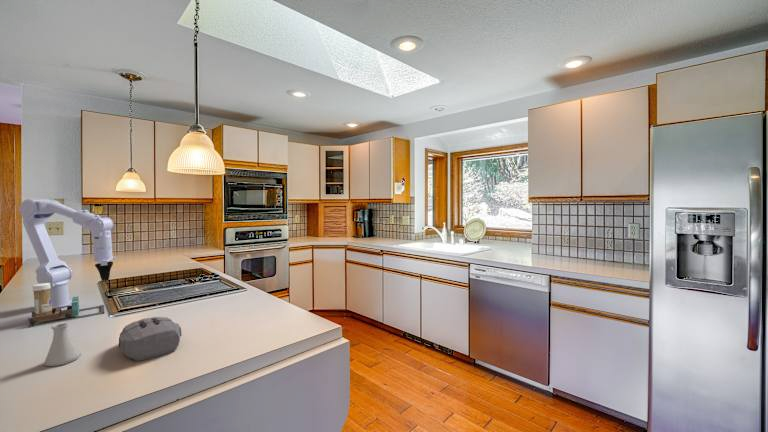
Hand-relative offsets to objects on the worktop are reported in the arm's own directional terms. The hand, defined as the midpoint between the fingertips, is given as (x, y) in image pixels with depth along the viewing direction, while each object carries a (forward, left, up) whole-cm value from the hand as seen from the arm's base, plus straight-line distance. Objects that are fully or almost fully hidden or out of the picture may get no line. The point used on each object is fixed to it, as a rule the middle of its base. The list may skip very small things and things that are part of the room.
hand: (105, 280), depth 139 cm
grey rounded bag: (+58, +9, -11) cm, 59 cm away
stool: (+6, -15, -10) cm, 19 cm away
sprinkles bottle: (+6, -18, -11) cm, 22 cm away
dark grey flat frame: (+6, -11, -10) cm, 16 cm away
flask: (+52, -10, -11) cm, 54 cm away
